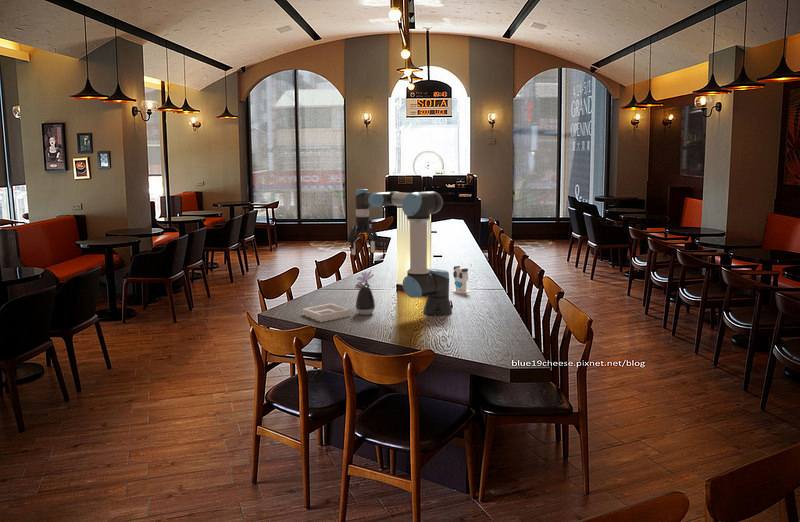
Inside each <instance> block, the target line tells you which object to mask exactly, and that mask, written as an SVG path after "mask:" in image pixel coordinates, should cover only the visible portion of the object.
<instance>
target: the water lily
mask: <svg viewBox="0 0 800 522" xmlns="http://www.w3.org/2000/svg"><path fill="white" fill-rule="evenodd" d="M374 276H375V274H372V270H370V271H369V272H367V271H364V272H361V276H357V277H356V280H357V281H358V282H357V283H356V284H355V287H357V286H359V285H362V284H366V285H367V286H368V287H370V284H369V280H371V279H372V278H373V277H374Z"/></svg>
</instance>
